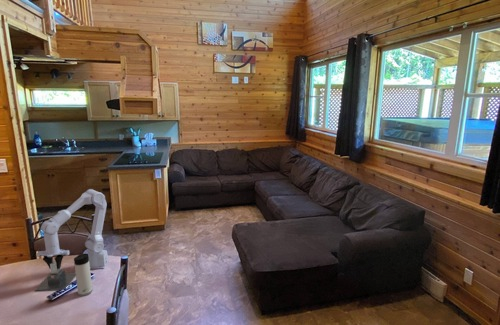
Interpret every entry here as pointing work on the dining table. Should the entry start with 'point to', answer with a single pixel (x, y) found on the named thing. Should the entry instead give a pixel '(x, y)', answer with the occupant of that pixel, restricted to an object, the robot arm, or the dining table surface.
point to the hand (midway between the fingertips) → (55, 268)
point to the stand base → (56, 281)
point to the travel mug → (83, 274)
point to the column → (54, 268)
